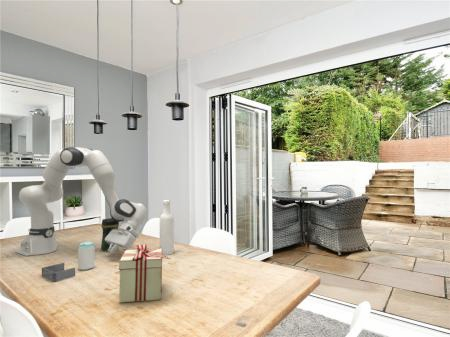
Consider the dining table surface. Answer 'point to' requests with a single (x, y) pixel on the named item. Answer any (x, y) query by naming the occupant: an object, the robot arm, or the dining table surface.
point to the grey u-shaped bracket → (57, 272)
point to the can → (86, 256)
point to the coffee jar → (107, 231)
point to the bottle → (167, 230)
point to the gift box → (141, 274)
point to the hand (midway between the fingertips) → (109, 252)
